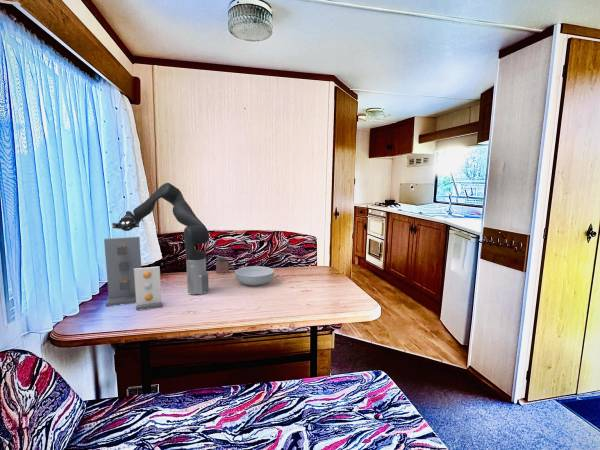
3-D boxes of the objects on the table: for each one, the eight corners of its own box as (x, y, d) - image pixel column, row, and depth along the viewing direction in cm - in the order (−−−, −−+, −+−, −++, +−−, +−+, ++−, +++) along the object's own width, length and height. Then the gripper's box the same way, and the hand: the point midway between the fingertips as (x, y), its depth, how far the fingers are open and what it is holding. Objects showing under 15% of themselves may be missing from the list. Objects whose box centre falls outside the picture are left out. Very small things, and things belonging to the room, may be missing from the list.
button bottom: (122, 284, 153) (121, 277, 153) (130, 283, 155) (129, 276, 154) (120, 290, 145) (119, 282, 145) (128, 289, 147) (128, 281, 146)
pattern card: (137, 305, 144) (134, 267, 142) (161, 302, 148) (159, 265, 145) (136, 310, 138) (133, 270, 136) (161, 307, 142) (159, 268, 140)
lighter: (230, 272, 196) (229, 256, 194) (228, 274, 192) (227, 257, 191) (217, 272, 196) (216, 256, 195) (215, 274, 193) (214, 257, 192)
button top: (119, 251, 151) (119, 244, 151) (128, 250, 153) (127, 243, 152) (117, 255, 143) (116, 247, 143) (126, 254, 145) (125, 247, 144)
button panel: (110, 296, 155) (105, 236, 151) (144, 292, 161) (141, 234, 157) (105, 306, 143) (100, 241, 139) (143, 301, 149) (139, 239, 145)
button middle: (121, 266, 155) (121, 259, 155) (129, 265, 157) (129, 258, 156) (119, 271, 147) (119, 263, 147) (128, 270, 149) (127, 262, 148)
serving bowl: (272, 289, 166) (272, 276, 165) (231, 289, 166) (230, 276, 165) (275, 277, 187) (275, 265, 186) (239, 277, 187) (239, 265, 186)
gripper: (112, 216, 174) (108, 220, 158) (140, 215, 179) (138, 219, 163) (113, 230, 175) (109, 235, 159) (141, 229, 180) (139, 233, 164)
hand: (124, 227), depth 161 cm, fingers closed
